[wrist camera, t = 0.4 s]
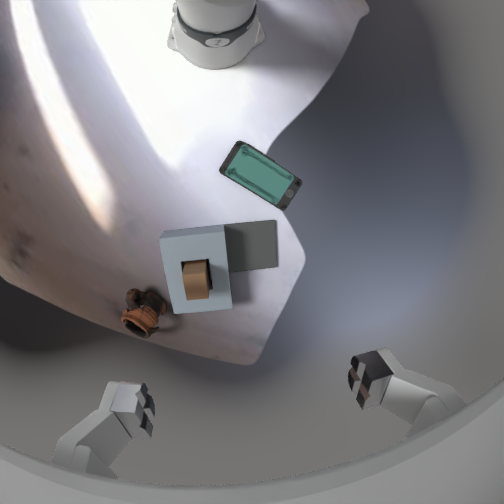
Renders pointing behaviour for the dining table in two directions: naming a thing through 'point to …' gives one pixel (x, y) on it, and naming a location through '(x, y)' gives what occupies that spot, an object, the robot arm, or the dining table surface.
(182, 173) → the dining table surface
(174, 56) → the dining table surface
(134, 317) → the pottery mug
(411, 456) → the robot arm
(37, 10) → the dining table surface
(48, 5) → the dining table surface
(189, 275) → the walnut block
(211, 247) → the pocket holder
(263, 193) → the smartphone
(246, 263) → the rubber mat
